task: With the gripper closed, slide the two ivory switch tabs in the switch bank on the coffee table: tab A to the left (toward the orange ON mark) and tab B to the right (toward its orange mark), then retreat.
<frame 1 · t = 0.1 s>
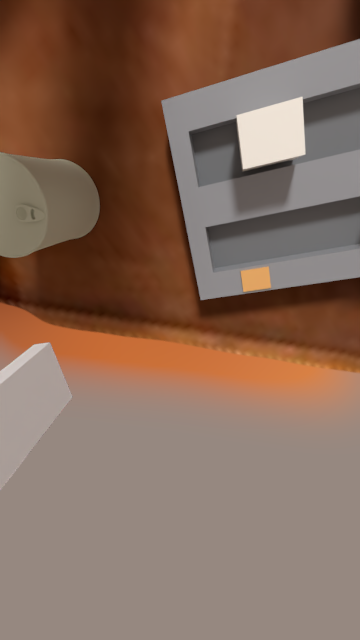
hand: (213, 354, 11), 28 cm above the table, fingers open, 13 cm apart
can: (65, 200, 38), on the table
switch bank: (326, 178, 32), on the table
tab a: (267, 139, 27), point 5 cm above the table, slide at -6.0 cm
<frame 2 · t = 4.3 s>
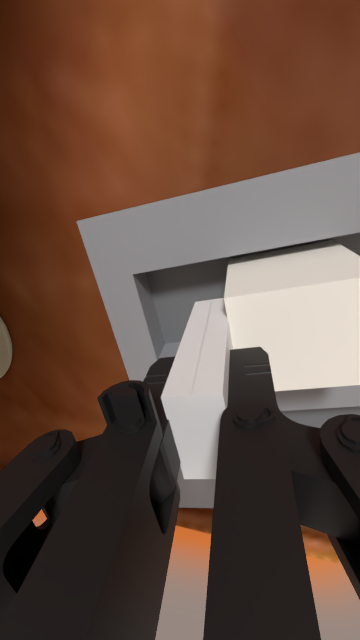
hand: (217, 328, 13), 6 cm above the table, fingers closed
tab a: (291, 309, 13), point 5 cm above the table, slide at -5.9 cm, touching gripper
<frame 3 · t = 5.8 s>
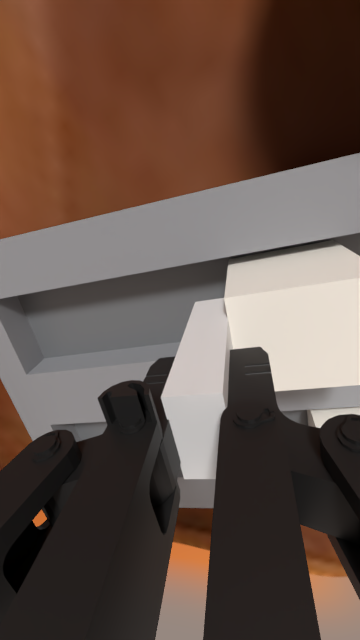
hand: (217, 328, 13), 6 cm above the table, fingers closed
switch bank: (240, 348, 20), on the table
tab a: (291, 309, 13), point 5 cm above the table, slide at 2.8 cm, touching gripper
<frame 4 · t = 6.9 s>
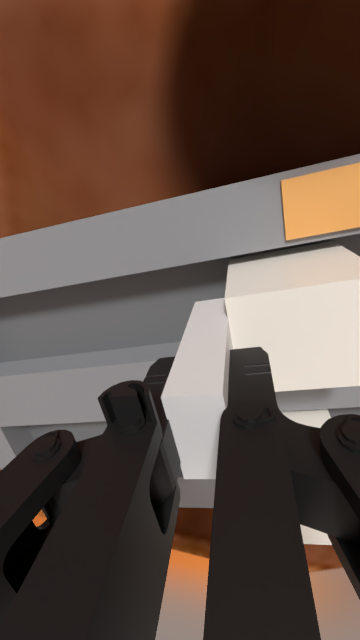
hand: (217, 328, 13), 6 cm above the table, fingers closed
switch bank: (181, 354, 21), on the table
tab a: (291, 309, 13), point 5 cm above the table, slide at 6.9 cm, touching gripper
tab b: (288, 462, 17), point 5 cm above the table, slide at 6.0 cm
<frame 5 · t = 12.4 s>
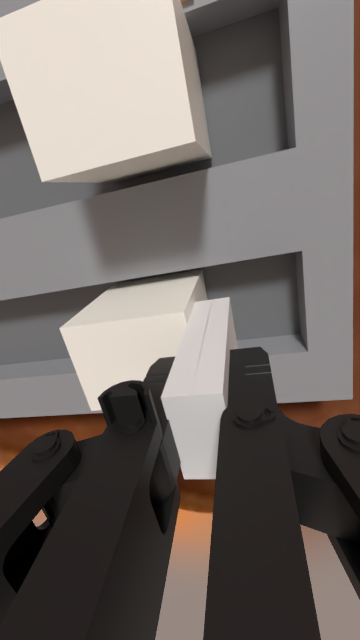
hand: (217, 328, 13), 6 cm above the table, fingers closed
switch bank: (68, 242, 19), on the table
tab a: (128, 107, 11), point 5 cm above the table, slide at 7.2 cm
tab b: (151, 333, 15), point 5 cm above the table, slide at 5.8 cm, touching gripper
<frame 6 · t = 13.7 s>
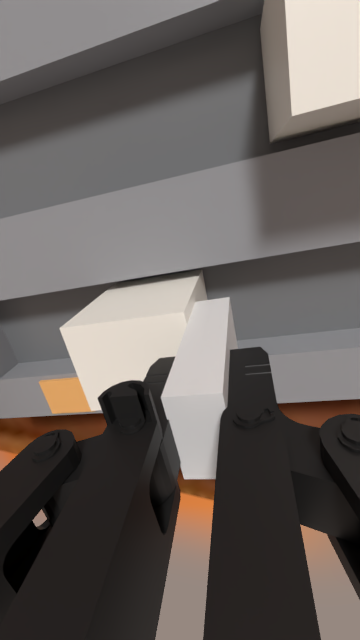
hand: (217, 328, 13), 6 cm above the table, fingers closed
switch bank: (185, 218, 17), on the table
tab a: (357, 37, 9), point 5 cm above the table, slide at 7.2 cm
tab b: (151, 333, 15), point 5 cm above the table, slide at -1.7 cm, touching gripper
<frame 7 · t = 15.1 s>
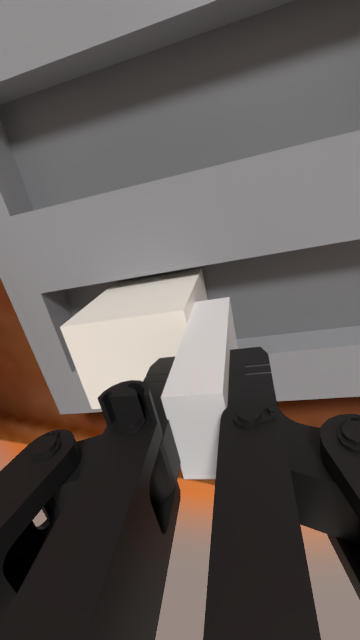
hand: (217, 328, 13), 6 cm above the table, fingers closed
switch bank: (281, 197, 16), on the table
tab b: (151, 331, 15), point 5 cm above the table, slide at -7.0 cm, touching gripper
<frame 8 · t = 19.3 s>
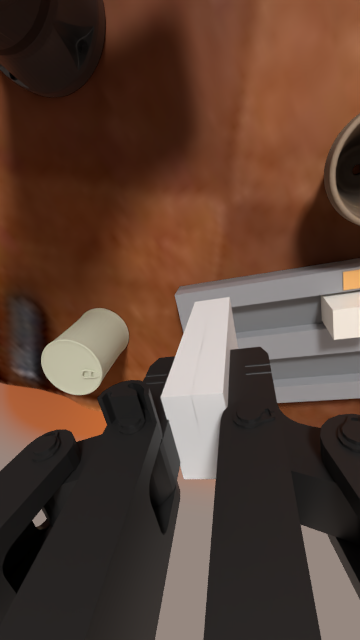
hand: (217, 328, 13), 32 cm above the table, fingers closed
can: (104, 332, 53), on the table
flower pot: (357, 170, 37), on the table
switch bank: (286, 333, 47), on the table
tab a: (347, 313, 39), point 5 cm above the table, slide at 7.2 cm
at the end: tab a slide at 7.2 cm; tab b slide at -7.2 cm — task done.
